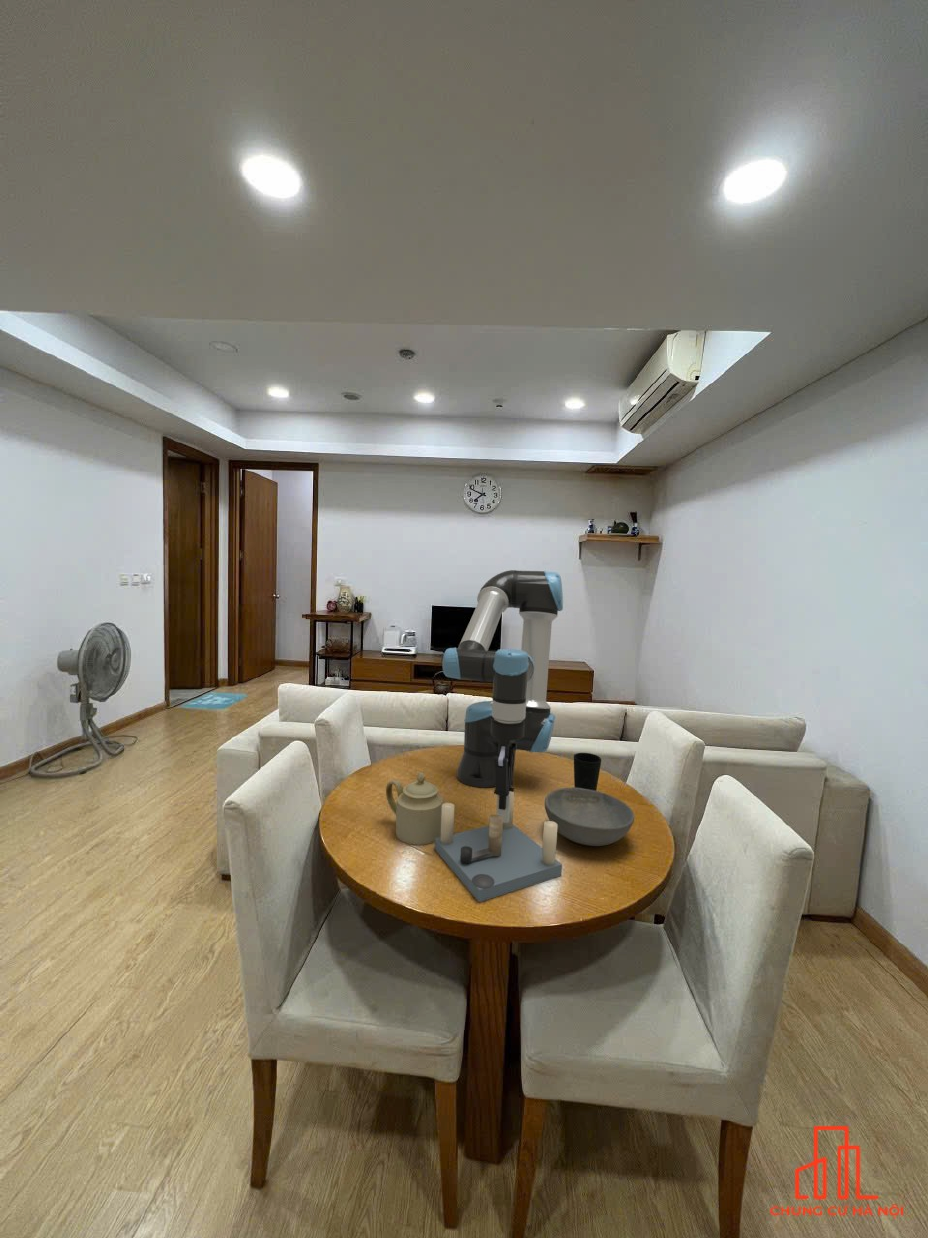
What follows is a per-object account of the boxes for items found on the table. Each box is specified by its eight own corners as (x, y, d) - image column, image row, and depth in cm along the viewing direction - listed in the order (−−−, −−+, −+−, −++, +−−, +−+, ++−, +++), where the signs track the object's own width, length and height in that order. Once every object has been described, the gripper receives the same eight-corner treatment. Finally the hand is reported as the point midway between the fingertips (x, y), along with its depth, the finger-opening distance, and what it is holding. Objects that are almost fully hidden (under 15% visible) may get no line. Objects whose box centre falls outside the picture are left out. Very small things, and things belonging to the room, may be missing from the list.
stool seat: (433, 849, 111) (435, 803, 110) (508, 830, 120) (510, 788, 119) (478, 903, 93) (481, 849, 92) (561, 876, 103) (565, 827, 102)
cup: (599, 806, 135) (602, 764, 134) (571, 802, 137) (573, 760, 136) (597, 794, 143) (600, 754, 142) (570, 791, 144) (573, 751, 143)
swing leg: (464, 865, 100) (465, 828, 99) (457, 858, 103) (459, 822, 102) (503, 854, 105) (505, 819, 104) (496, 847, 107) (498, 813, 106)
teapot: (373, 841, 113) (375, 778, 112) (386, 818, 124) (388, 760, 123) (437, 848, 112) (440, 784, 110) (445, 823, 122) (447, 765, 121)
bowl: (537, 813, 130) (539, 784, 129) (617, 817, 130) (619, 788, 129) (549, 859, 109) (551, 824, 108) (644, 864, 108) (646, 829, 108)
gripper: (498, 710, 117) (493, 805, 119) (484, 724, 105) (479, 831, 107) (529, 713, 115) (523, 811, 117) (519, 729, 103) (513, 837, 105)
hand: (502, 820), depth 112 cm, fingers closed
